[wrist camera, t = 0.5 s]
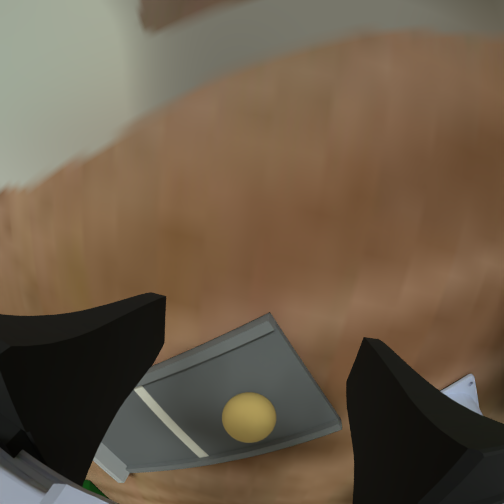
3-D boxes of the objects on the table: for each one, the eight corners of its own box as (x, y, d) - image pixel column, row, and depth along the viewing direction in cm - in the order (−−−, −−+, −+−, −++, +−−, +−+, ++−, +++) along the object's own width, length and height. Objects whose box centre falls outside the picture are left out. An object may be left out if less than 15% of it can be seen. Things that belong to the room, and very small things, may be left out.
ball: (287, 408, 22) (284, 445, 18) (245, 422, 23) (236, 457, 19) (261, 374, 22) (253, 411, 18) (218, 391, 23) (205, 425, 19)
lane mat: (341, 419, 22) (343, 444, 20) (127, 466, 30) (118, 482, 27) (269, 312, 21) (265, 334, 18) (62, 400, 28) (49, 414, 25)
